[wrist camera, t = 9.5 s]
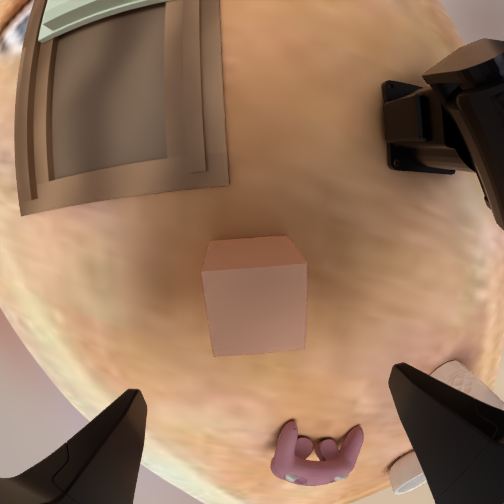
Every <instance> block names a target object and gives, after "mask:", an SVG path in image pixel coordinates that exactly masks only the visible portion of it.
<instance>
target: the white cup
mask: <svg viewBox="0 0 504 504" xmlns="http://www.w3.org/2000/svg"><path fill="white" fill-rule="evenodd" d="M430 376H432V377H434V378H435V379H437V380H439V381H441V382H443V383H445V384H447V385H449V386H451V387H453V388H455V389H457V390H459V391H461V392H464V393H466V394H468V395H470V396H472V397H474V399H475V398H476V399H478V400H480V401H482V402H484V403H486V404H489V405H491V406H493V407H496V408H499V409H501V410H504V402H503V401H501V400H500V398H499V397H498V396H497V395H496V394H495V393H494V392H493V391H492V390H491V389H490V388H489V387H488V386H487V385H485V384H484V383H483V382H482V381H481V380H480V379H479V378H478V377H477V376H476V375H475V374H474V373H472V372H470V371H469V370H468V369H467V368H466V367H465V366H464V365H463V364H462V363H460V362H459V361H457V360H454V361H450V362H447V363H445V364H443V365H442V366H440V367H439V368H437V369H436V370H435V371H434V372H433V373H432V374H431V375H430Z"/></svg>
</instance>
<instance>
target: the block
mask: <svg viewBox="0 0 504 504" xmlns="http://www.w3.org/2000/svg"><path fill="white" fill-rule="evenodd" d="M307 271H308V263H307V262H306V260H305V259H304V258H303V256H302V255H301V253H300V252H299V251H298V249H297V248H296V246H295V245H294V244H293V242H292V241H291V239H290V238H289V237H288V235H282V236H268V237H254V238H240V239H226V240H213V241H210V243H209V246H208V250H207V253H206V256H205V260H204V263H203V266H202V270H201V276H202V283H203V291H204V298H205V305H206V312H207V318H208V325H209V331H210V337H211V344H212V350H213V355H214V357H216V356H234V355H248V354H260V353H271V352H281V351H290V350H298V349H305V342H306V317H307Z"/></svg>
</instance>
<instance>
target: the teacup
mask: <svg viewBox="0 0 504 504" xmlns="http://www.w3.org/2000/svg"><path fill="white" fill-rule="evenodd" d="M389 477H390V482H391V485H392V488H393V491H394V493H395V494H397V495H398V494H403V493H406V492H409V491H411V490H413V489H415V488H417V487H419V486H420V485H422V484H423V483H425V482H427V480H426V478H425V475H424V473H423V470H422V468H421V465H420V463H419V461H418V458H417V456H416V454H415V451H413V452H410V453H408V454H406V455H404V456H402V457H401V458H399V459H398V460H397V461H396V462H395V463H394V465H393V466H392V467H391V469H390V473H389Z"/></svg>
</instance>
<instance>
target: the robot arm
mask: <svg viewBox="0 0 504 504" xmlns="http://www.w3.org/2000/svg"><path fill="white" fill-rule="evenodd" d="M422 77H423V78H424V80H425V81H426V83H427V84H430V86H428V87H425V88H423V87H419V86H415V85H410V84H406V83H401V82H396V81H391V80H388V81H385V82H384V83H383V85H382V88H383V97H384V105H383V111H384V123H385V138H386V140H387V150H388V166H389V167H390V169H392V170H397V171H414V172H428V173H439V174H450V175H452V174H454V173H455V170H459V171H467V172H474V173H476V174H477V177H478V179H479V182H480V184H481V187H482V190H483V192H484V195H485V197H484V199H485V202H486V205H487V206H488V207H489V208H490V209H491V210H492V213H493V215H494V218H495V220H496V223H497V224H498V225H499V226H500V227H501V228H502V229H503V230H504V41H499V40H492V39H485V38H484V39H481V40H478V41H475V42H473V43H470V44H468V45H466V46H463V47H461V48H459V49H457V50H456V51H454V52H453V53H451V54H450V55H449V56H447V57H446V58H445V59H443V60H442V61H440V62H439V63H438V64H436V65H435V66H434V67H432V68H431V69H429V70H428V71H427V72H425V73H424V74H423V75H422ZM388 85H390V86H391V90H390V89H389V88H388ZM395 160H396V162H397V165H396V166H395V165H394V161H395ZM388 384H389V388H390V391H391V394H392V397H393V400H394V403H395V406H396V409H397V412H398V415H399V418H400V420H401V422H402V425H403V427H404V429H405V431H406V433H407V436H408V438H409V440H410V442H411V445H412V447H413V449H414V451H415V454H416V456H417V458H418V461H419V463H420V465H421V468H422V470H423V473H424V475H425V478H426V480H427V483H428V485H429V487H430V490H431V492H432V495H433V498H434V500H435V504H504V410H501V409H499V408H496V407H493V406H491V405H489V404H486V403H484V402H482V401H480V400H478V399H476V398H475V399H474V397H472V396H470V395H468V394H466V393H464V392H461V391H459V390H457V389H455V388H453V387H451V386H449V385H447V384H445V383H443V382H441V381H439V380H437V379H435V378H434V377H432V376H430V375H428V374H426V373H424V372H422V371H420V370H418V369H416V368H414V367H412V366H410V365H408V364H406V363H404V362H402V363H398V364H395V365H394V366H393V367H392V371H391V374H390V378H389V382H388ZM146 417H147V405H146V402H145V400H144V397H143V395H142V393H141V391H140V390H139V389H128V390H126V391H125V392H124V393H123V394H122V395H121V396H120V397H118V398H117V399H116V400H115V401H114V402H113V403H111V404H110V405H109V406H108V407H107V408H106V409H105V410H103V411H102V412H101V413H100V414H99V415H98V416H96V417H95V418H94V419H93V420H92V421H91V422H89V423H88V424H87V425H86V426H85V427H84V428H82V429H81V430H80V431H79V432H78V433H76V434H75V435H74V436H73V437H72V438H71V439H69V440H68V441H67V443H64V444H63V445H62V446H61V447H60V448H58V449H57V450H56V451H55V452H54V453H52V454H51V455H49V456H48V457H47V458H45V459H43V460H42V461H41V462H39V463H38V464H36V465H34V466H33V467H31V468H30V469H28V470H26V471H25V472H23V473H21V474H20V475H18V476H15V477H12V478H0V504H133V499H134V493H135V488H136V482H137V477H138V472H139V466H140V462H141V457H142V452H143V447H144V439H145V427H146Z"/></svg>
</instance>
